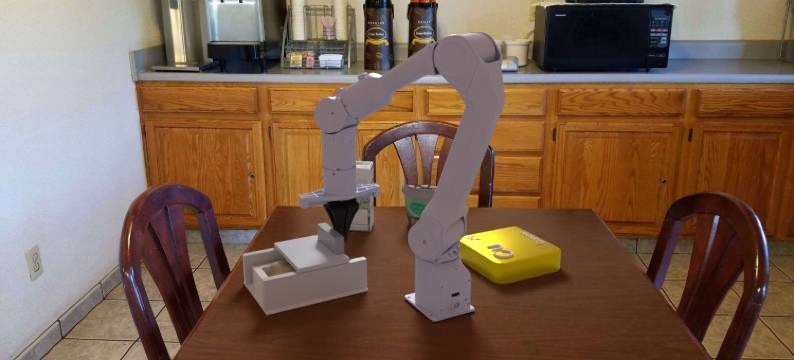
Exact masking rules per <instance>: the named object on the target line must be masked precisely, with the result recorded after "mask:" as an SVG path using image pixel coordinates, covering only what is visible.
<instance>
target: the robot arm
mask: <svg viewBox="0 0 794 360" xmlns="http://www.w3.org/2000/svg"><path fill="white" fill-rule="evenodd" d="M503 59H504V54H503V53H502V52H501V50H500V48H499V46H498V44H497V42H496V41H495V40H494V38H493V37H492V36H491V35H490V34H489V33H486V32H484V31H472V32H470V33H464V34H449V35H446V36H445V37H443V38H442V39H440V40H439V41H438V40H437V41H435V42H432V43H429V44H427V45H426V46H423V48H421V49H420V50H418V51H417V52H415V53H413V54H412V55H410V56H409V57H408V58H407V59H404V60H403V61H402V62H400V63H399V64H397V65H395V66H394V67H392V68H391V69H389V70H388V71H386V72H385V73H384V74H379V73H376V72H371V73H368V72H363V73H361V74H360V75H357V79H358V80H357V81H355V82H354V83H352V84H351V85H349V86H347V87H345V86H344V87H340V88H339V89H337V91H336V92H337V94H336V95H335V96H326V97H322V98H321V99H320V101H318V102H317V103H316V105H315V107H314V110H313V118H314V121H315V124H316V125H317V127H318V128H319V130H321V148H322V149H321V150H322V156H321V157H322V179H323V188H321V189H318V190H315V191H312V192H308V193H305V194H299V195H298V206H299V208H301V209H302V210H306V209H309V207H316V206H317V207H318V206H323V208H324V210H325V211H326V213H327V215H328V218H329V220H330V222H331V225H332V228H333V229H334V230H336V231H337V232H338V233H339V234H341V235H342V236H343V237H344V243H345V242H348V238H349V233H350V231H349V230H350V227H351V224H352V221H353V219H354V217H355V215H356V213H357V211H358V210H359V203H358V202H356V199H360V198H366V197H372V196H373V198H379V197H381V185H378V184H377V183H373V184H366V185H357V174H356V161H357V134H358V127H359V124H360V123H361V122H362V121H363V120H365V118H368V117H369V116H371V115H373V114H375V113H376V112H378V111H380V110H382V109H383V108H385V107H388V106H389V105H390V104H391V101H392V99H393V93H395V92H398V91H399V90H402V89H404V88H405V87H407V86H409V85H411V84H413V83H414V82H417V81H419V80H420V79H422V78H424V77H426V76H428V75H431V76H438V75H441V77H443V78H444V80H446V82H447V83H448V84H449V85H450V86H452V88H454V90H455V91H456V92H457V93H458V94H459V96H460V98H461V99H462V100H463V103H464V105H465V107H464V110H463V113H462V116H461V119H460V121H459V123H458V127H457V129H456V132H455V136H454V138H453V141H452V144H451V146H450V149H449V152H448V154H447V157H446V159H445V163H444V166H443V168H442V172H441V173H440V177H439V180H438V182H437V185H436V186H437V187H436V190H435V193H434V196H433V198H432V199H431V201H430V202H429V204H428V205H427V206H426V208H425V209H424V210H423V212H422V214H421V217H420V219H419V221H418V222H417V223H416V224H414V225H413V226H412V227H411V229H410V228H409V230H408V233H407V241H408V246H409V248H410V250H411V252H412V253H413V254H414V256H415V257H414V259H415V262H414V263H415V264H414V268H415V269H414V273H415V274H414V292H413V293H409V294H405V296H404V299H405V300H406V301H407V302H409V303H410V304H411V305H412V306H413V307H415V308H416V309H417V310H418V311H419V312H421V313H422V314H423V315H424V316H425V317H427V318H428V319H429V320H430V321H432V322H434V323H435V322H440V321H444V320H446V319H450V318H454V317H457V316H462V315H464V314H468V313H471V312H474V311H475V307H474V306H473V305H472V304H471V296H472V294H471V293H472V275H471V272H470V271H469V269H468V268H466V266H465V264H463V262H462V261H461V258H460V247H459V241H460V240H461V239H462V238H463V237H464V236H466V235H467V228H468V227H467V226H468V225H467V215H468V212H469V210H470V208H469V207H468V205H467V201H468V199H469V196H470V194H471V192H472V190H473V186H474V184H475V181H476V179H477V176H478V174H479V171H480V168H481V166H482V164H483V162H484V161H483V160H484V158H485V155H486V153H487V150H488V147H489V145H490V143H491V140H492V138H493V135H494V132H495V131H496V127H497V125H498V123H499V120H500V118H501V114H502V111H503V109H504V107H505V104H506V94H505V93H506V92H505V86H504V79H503V78H504V77H503V70H502V68H503V67H502V64H503Z"/></svg>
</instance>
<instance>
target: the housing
mask: <svg viewBox="0 0 794 360" xmlns="http://www.w3.org/2000/svg"><path fill="white" fill-rule="evenodd" d="M241 255H242V256H241V257H242V270H243V285H244V286H245V287H246V289H247V290H248V291H249V293H250V294H251V295H252V297H253V298H254V300H255V301H256V303H257V304H258V305H259V306H260V308H261V309H262V311H263V312H264V314H265V316H269V315H273V314H278V313H281V312H285V311H290V310H293V309H294V310H295V309H297V308H302V307H307V306H311V305H314V304H319V303H323V302H327V301H331V300H332V301H333V300H336V299H339V298H344V297H347V296H352V295H356V294H361V293H365V292H368V291H369V288H368V263H367V259H368V258H366V257H365V256H361V257H355V258H351V259H350V262H349V263H344V264H340V265H335V266H330V267H326V268H321V269H316V270H312V271H307V272H302V273H298V272H297V271H296V270H295V271H294V272H289V273H285V274H280V275H275V276H271V264H272V263H274V262H277V261H282V260H286V259H285V258H284V257H283V256H282V255H281V254H280V253H279V251H278V250H277V249H276V248H275V247H271V248H266V249H261V250H255V251H250V252H249V251H248V252H245V253H242V254H241Z"/></svg>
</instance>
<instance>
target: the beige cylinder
mask: <svg viewBox="0 0 794 360" xmlns="http://www.w3.org/2000/svg"><path fill="white" fill-rule="evenodd" d="M294 271H295V269H294V267H293V266H292V265H291V264H290V263H289V262H288V261H287V260H282V261H277V262H274V263H272V264H271V276H275V275H280V274H285V273H289V272H294Z"/></svg>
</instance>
